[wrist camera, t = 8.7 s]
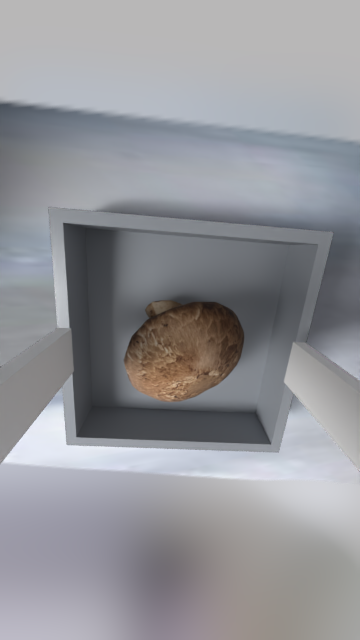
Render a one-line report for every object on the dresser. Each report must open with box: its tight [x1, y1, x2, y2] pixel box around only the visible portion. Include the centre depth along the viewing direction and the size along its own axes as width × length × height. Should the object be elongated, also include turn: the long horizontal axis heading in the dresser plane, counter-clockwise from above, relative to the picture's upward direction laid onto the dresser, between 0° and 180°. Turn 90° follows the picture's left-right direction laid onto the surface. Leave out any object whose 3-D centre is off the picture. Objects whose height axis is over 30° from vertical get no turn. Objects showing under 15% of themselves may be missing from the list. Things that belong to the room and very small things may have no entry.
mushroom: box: [124, 300, 244, 402], centre depth 16 cm, size 8×8×6 cm
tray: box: [48, 207, 334, 452], centre depth 17 cm, size 15×15×4 cm
